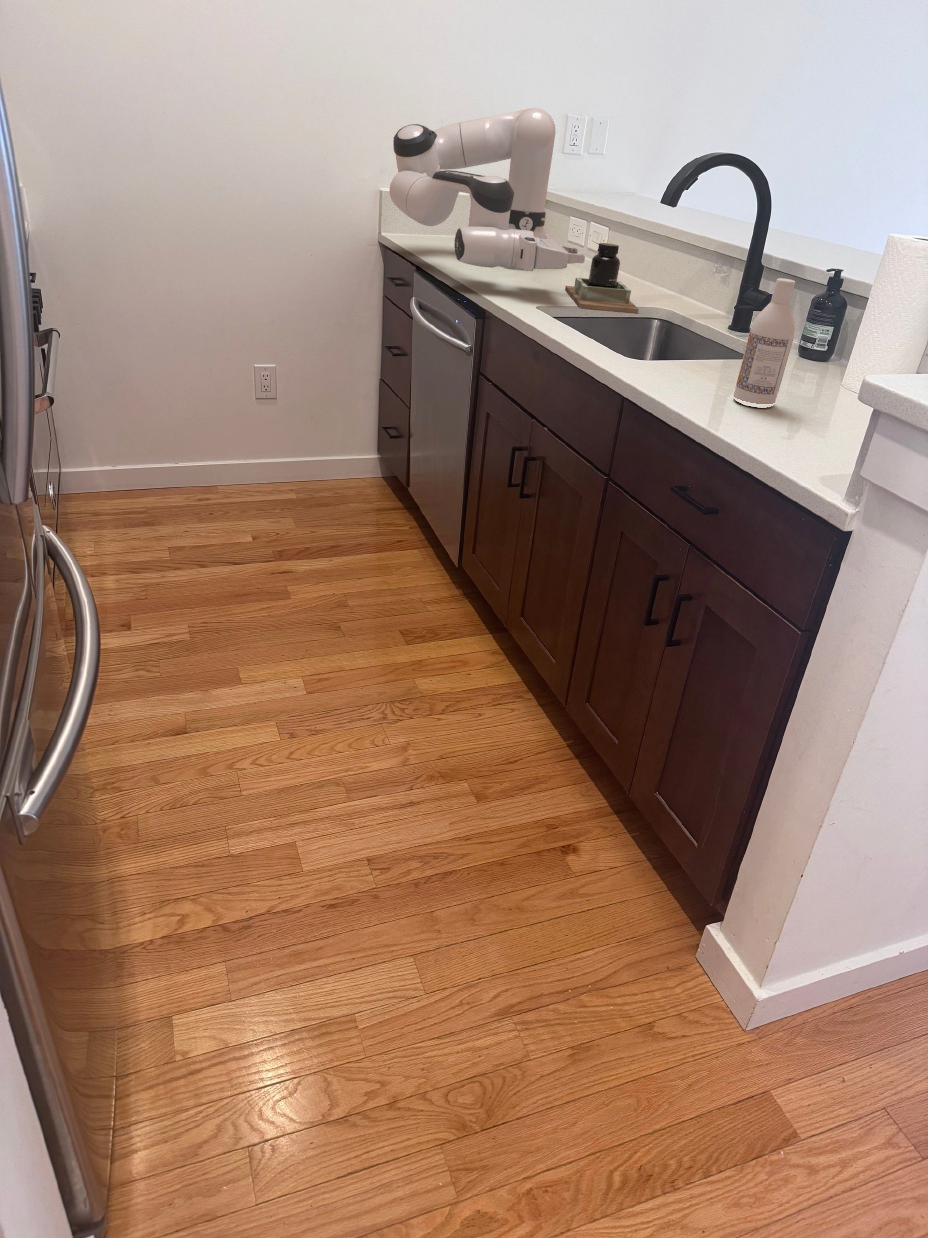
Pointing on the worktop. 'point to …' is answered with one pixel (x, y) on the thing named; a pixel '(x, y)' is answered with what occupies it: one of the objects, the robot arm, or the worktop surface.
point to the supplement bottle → (605, 267)
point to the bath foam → (767, 348)
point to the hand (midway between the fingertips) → (580, 255)
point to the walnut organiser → (601, 297)
